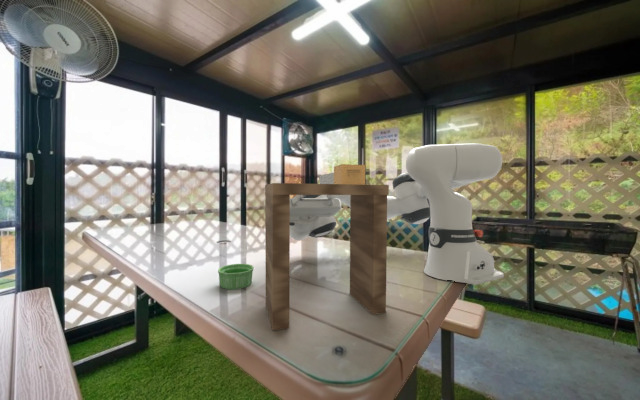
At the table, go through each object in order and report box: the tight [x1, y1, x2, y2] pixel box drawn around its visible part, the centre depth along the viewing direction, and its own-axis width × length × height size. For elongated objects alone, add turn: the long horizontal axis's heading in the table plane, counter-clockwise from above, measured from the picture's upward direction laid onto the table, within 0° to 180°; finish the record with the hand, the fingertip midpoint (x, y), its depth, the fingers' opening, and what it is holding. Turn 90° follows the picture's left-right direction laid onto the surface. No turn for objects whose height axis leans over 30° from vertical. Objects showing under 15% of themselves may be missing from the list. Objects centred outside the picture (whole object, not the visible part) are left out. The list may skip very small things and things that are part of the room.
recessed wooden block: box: [319, 163, 366, 185], centre depth 61 cm, size 5×20×4 cm, turn 15°
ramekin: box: [217, 263, 254, 290], centre depth 69 cm, size 9×9×4 cm
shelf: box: [264, 182, 390, 332], centre depth 54 cm, size 23×12×26 cm, turn 108°
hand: (316, 195), depth 77 cm, fingers open, 8 cm apart
